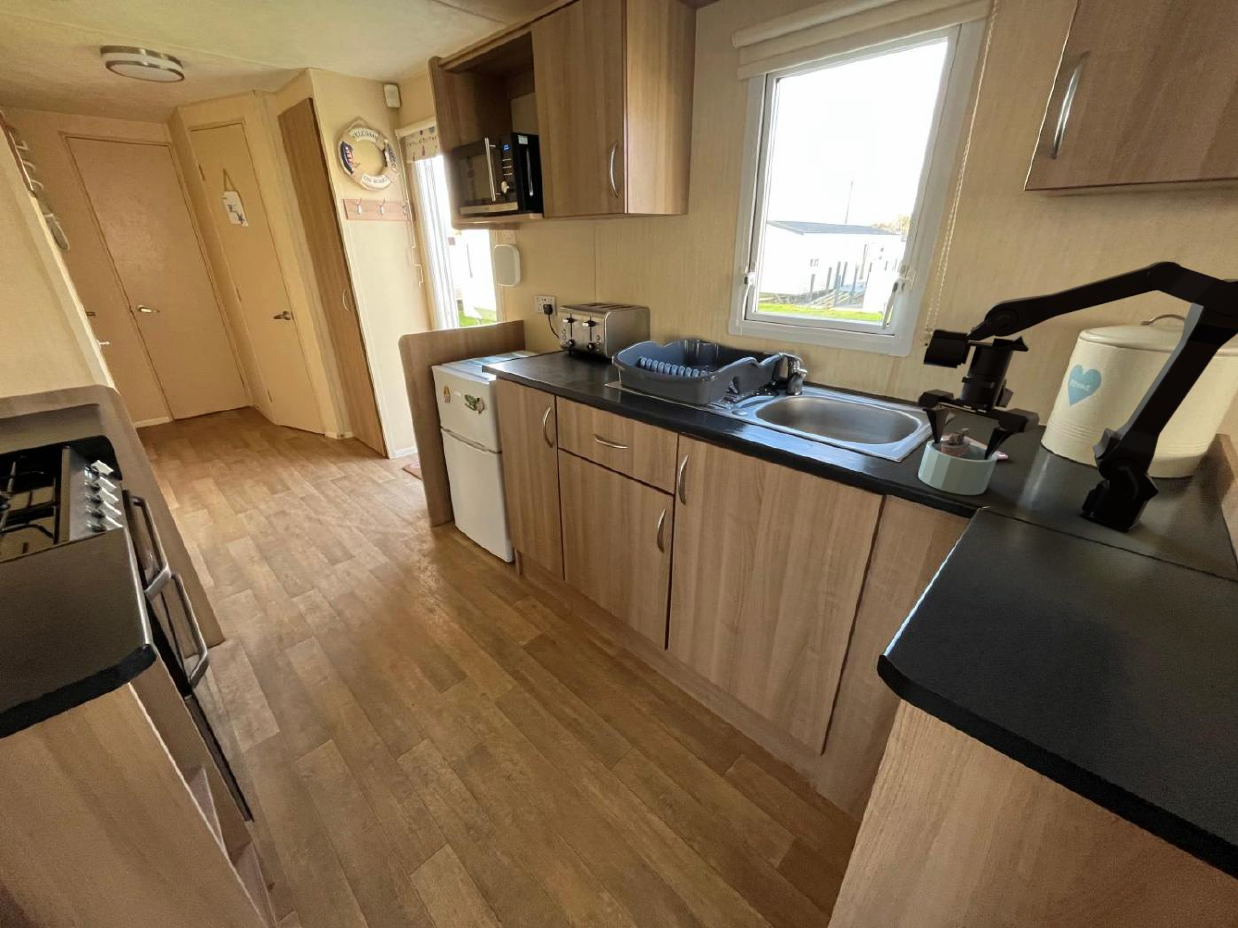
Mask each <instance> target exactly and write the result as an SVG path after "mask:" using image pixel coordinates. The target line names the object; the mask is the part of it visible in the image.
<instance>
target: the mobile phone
mask: <svg viewBox="0 0 1238 928" xmlns="http://www.w3.org/2000/svg"><path fill="white" fill-rule="evenodd" d="M950 434H951V433H943V434H942V438H941V439H949V437H950ZM964 438H965V439H968V440H970V441H971V443H972V444H976V445H979V446H982V447H984V448H986V449H987V446H988V445H986V444H984V443H982V442H980V441H977V440H975V439H972V438H971V437H969V436H965V437H964ZM995 454H996V455H997V461H999V460H1007V459H1008V457H1009V456H1008V454H1006V453H1004V452H1002V451H999V450H998V449H997V450H996V451H995Z"/></svg>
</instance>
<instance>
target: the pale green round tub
mask: <svg viewBox="0 0 1238 928" xmlns="http://www.w3.org/2000/svg"><path fill="white" fill-rule="evenodd" d="M946 440H949V439H941V440H940V442H939V443H938V444H935V443H934V439H931V440H929V441H927V443H926V446H925V449H924V451H923V452H924V453H923V456H922V459H921V463H920V466H919V469H918V473H917V477H918V478H919V480H920V481H921V482H923V483H924V484H925V485H927V486H930V487H932V488H934V489H937V490H940V491H943V492H947V493H951V494H956V495H964V496H977V495H980V494H983V493H985V492H986V490H987V488H988V485H989V482H990V479H991V477H992V474H993V472H994V469H995V466H996V463H997V461H998V460H997V455H996V454H995V453H994V454H993V455H992V456H991V457H990V458H989V459H988V460H985V459H984V456H985V452H986V448H984V447H982V446H979V445H976V444H972V443H970V445H969V446H968V448H967V451H966V454H965V457H964V459H963V458H958V457H953V456H950V455H947V454H944V453H941V449H942V448H941V445H942V443H943V442H944V441H946Z"/></svg>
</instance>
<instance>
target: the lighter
mask: <svg viewBox="0 0 1238 928" xmlns="http://www.w3.org/2000/svg"><path fill="white" fill-rule="evenodd" d="M970 431H971V430H970V428H967V427H963V428H960V429H954V430H952V432H951V433H949V434H950V437H949V440H946V441H944V442H943V443H942V445H941V448H942V449H941V453H944V454H947V455H950V456H953V457H958V458H963V459H964V457H965V454H966V451H967V448H968V446H969V445H970V443H971V441H970V440H968V439H965V438H964V437H965V436H966V437H969V434H970Z"/></svg>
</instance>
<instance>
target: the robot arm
mask: <svg viewBox="0 0 1238 928" xmlns="http://www.w3.org/2000/svg"><path fill="white" fill-rule="evenodd" d="M1155 291H1156V292H1157V291H1158V292H1161V293H1163V294H1166V295H1168V296H1171V297H1174V298H1176V299H1179V300H1182V301H1184V302H1187V303H1190V304H1191V305H1190V308H1189V310H1188V312H1187V315H1186V318H1185V321H1184V325H1183V329H1182V333H1181V337H1180V340H1179V342H1178V344H1176V347H1175V348H1174V349H1173V351H1172V352H1171V354H1170V355H1169V357H1168V359H1167V360H1166V361H1165V363H1164V364H1163V366H1162V367H1161V369H1160V370H1159V372H1158V373H1157V375H1156V377H1155V378H1154V380H1153V381H1152V383H1151V385H1150V386H1149V388H1148V389H1147V391H1145V394H1144V396H1143V397H1142V398H1141V400H1140V401H1139V403H1138V404H1137V406H1136V407H1135V409H1134V411H1133V412H1132V413H1131V415H1130V416H1129V418H1128V420H1127V421H1126V422H1125V423H1124V424H1123V425H1122V426H1120V427H1118V428H1117V429H1116V430H1114V429H1111V428H1108V427H1106V428H1105V429H1104V431H1103V432H1102V436H1101V438H1100V440H1099V441H1098V443H1096V444H1094V445H1093V446H1092V450H1093V453H1094V456H1093V457H1094V461H1095V466H1096V468H1097V471H1098V473H1099V474H1100V476H1101V477H1102V478H1103V479H1102V480H1100V481H1099V482H1097V484H1096V486H1094V487H1092V488H1090V489H1089V490H1088V493H1087V495H1086V498H1085V499H1084V502H1083V503H1082V506H1081V510H1082V511H1080V513H1079V516H1080V517H1083V518H1085V519H1088V520H1091V521H1094V522H1097V523H1100V524H1102V525H1104V526H1108V527H1110V528H1114V529H1116V530H1119V531H1121V532H1125V533H1129V532H1130V531H1131V530H1133V529H1134V528H1136V527H1137V526H1139V525H1140V524H1141V523H1142V520H1140V519H1141V517H1142V515H1143V513H1144V511H1145V509H1146V507H1147V505H1148V504H1149V502H1150V500H1152V499H1153V498H1154V497H1155V496H1156V495H1157V494H1159V489H1158V488H1157V486H1156V484H1155V482H1154V480H1153V479H1152V477H1151V475H1150V474H1149V469H1150V467H1151V464H1152V462H1153V459H1154V457H1155V454H1156V451H1157V446H1158V442H1159V437H1160V435H1161V433H1162V432H1163V431H1164V428H1166V426H1167V425H1168V423H1169V421H1170V420H1171V419H1172V417H1173V416H1174V414H1175V413H1176V411H1177V410H1178V409H1179V407H1180V406H1181V405H1182V403H1183V401H1184V400H1185V399H1186V397H1187V396H1188V394H1189V393H1190V391H1191V390H1192V389H1193V388H1194V386H1195V384H1196V383H1197V381H1198V380H1199V379H1200V377H1201V376H1202V374H1203V373H1204V371H1205V370H1206V368H1207V367H1208V365H1209V364H1210V363H1211V362H1212V360H1213V359H1214V357H1215V356H1216V354H1217V353H1218V352H1219V350H1220V349H1221V348H1222V347H1223V346H1224V345H1225V344H1227V343H1228V342H1229V341H1231V340H1232V339H1233V338H1235V337H1236V336H1237V335H1238V278H1223V279H1221V278H1217V277H1214V276H1211V275H1209V274H1206V273H1202V272H1199V271H1196V270H1193V269H1190V268H1187V267H1184V266H1182V265H1181V264H1180V263H1178V262H1176V261H1169V260H1168V261H1165V260H1164V261H1163V260H1162V261H1161V260H1160V261H1156V262H1153V263H1150V264H1149V265H1147V266H1145V267H1141V268H1137V269H1134V270H1130V271H1127V272H1124V273H1119V274H1116V275H1112V276H1109V277H1106V278H1102V279H1098V280H1095V281H1092V282H1088V283H1084V284H1081V285H1077V286H1074V287H1070V288H1068V289H1063V290H1060V291H1057V292H1056V291H1055V292H1053V293H1049V294H1040V295H1033V296H1026V297H1019V298H1013V299H1005V300H1001V301H999V302H996V303H995V304H993V305H992V306H990V308H989V309H988V311H987V312H986V314H985V316H984V319H983V321H981V322H980V323H978V324H977V325H976V326H973V327H971V329H970V331H968V332H967V331H966V332H965V331H955V330H947V329H943V328H935V329H934V330H933V332H932V336H931V338H930V341H929V344H928V346H927V347H926V350H925V353H924V357H923V363H922V364H923V365H925V366H933V367H939V368H948V369H953V370H954V369H956V370H957V369H958V367H959V366H962V365H966V364H967V362H968V359H969V357H970V352H971V350H972V347H975V348H974V351H973V354H972V357H971V360H970V363H969V367H968V370H967V373H966V375H965V376H962V378H961V381H960V382H961V383H962V384H963V386H962V389H961V392H960V395H959V397H955V395H954V392H951V391H946V390H941V389H938V388H935V389H930V390H926V391H923V392H921V393H920V395H919V396H918V398H917V401H916V406H917V407H921V411H922V412H924V413H926V417H927V420H928V422H929V425H930V429H931V433H932V438H933V440H934V443H935V444H938V443H939V442H940V440H941V438H942V434H944V430H945V427H946V422H947V419H948V416H949V414H950V413H951V411H952V410H956V411H960V412H964V413H969V414H972V415H976V416H980V417H983V418H986V419H987V418H988V419H991V420H995V421H997V424H998V426H996V427H993V430H992V433H991V435H990V438H989V441H988V444H987V445H986V446H987V449H986V452H985V456H984V459H985V460H988V459H989V458H990V457H991V456H992V455H993V454H994V453H995V451H996V450H997V451H998V449H1000V447H1001V446H1002V445H1003V444H1004V443H1005V442H1006V441H1007V440H1009V438H1010V437H1011V436H1015V435H1017V434H1020V433H1021V434H1024V433H1027V432H1030V431H1033V430H1035V429H1037V427H1038V426H1039V423H1040V421H1041V420H1040V419H1041V418H1040V415H1039V413H1038V412H1035V411H1032V410H1031V411H1030V410H1026V409H1022V408H1018V407H1014V408H1010V409H1007V410H1002V409H1006V408H1007V407H1008V405H1009V403H1010V401H1011V400H1012V397H1013V395H1014V394H1015V393H1014V391H1012V390H1010V388H1007V383H1008V379H1007V378H1006V376H1007V373H1008V370H1009V367H1010V364H1011V361H1012V360H1013V359H1012V358H1013V356H1014V353H1015V352H1021V353H1027V352H1028V351H1029V350H1030V346H1029V345H1028V344H1027V343H1026V342H1025V339H1024V337H1023V336H1022V335H1019V336H1017V337H1015V338H1013V339H1009V338H1005V337H1010V336H1012V335H1014V334H1018V333H1020V332H1022V331H1025V330H1028V329H1030V328H1032V327H1035V326H1037V325H1039V324H1041V323H1043V322H1046V321H1048V320H1051V319H1053V318H1055V317H1058V316H1062V315H1067V314H1070V313H1074V312H1079V311H1081V310H1082V311H1083V310H1086V309H1090V308H1093V307H1097V306H1101V305H1105V304H1109V303H1112V302H1117V301H1120V300H1124V299H1127V298H1131V297H1135V296H1139V295H1143V294H1147V293H1151V292H1155ZM991 337H994V338H993V341H992V342H989V341H988V342H987V341H983V340H986V339H989V338H991ZM998 408H999V409H998ZM1000 408H1002V409H1000Z"/></svg>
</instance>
